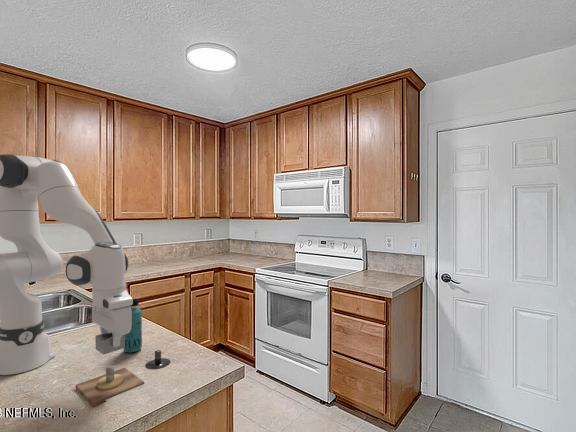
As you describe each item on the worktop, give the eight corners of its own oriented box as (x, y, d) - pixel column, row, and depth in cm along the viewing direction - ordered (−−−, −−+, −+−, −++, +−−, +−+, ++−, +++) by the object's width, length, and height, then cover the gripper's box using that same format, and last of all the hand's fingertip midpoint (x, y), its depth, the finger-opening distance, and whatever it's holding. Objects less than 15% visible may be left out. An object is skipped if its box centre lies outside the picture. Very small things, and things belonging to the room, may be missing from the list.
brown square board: (75, 388, 96) (75, 368, 96) (124, 371, 107) (124, 353, 107) (93, 407, 87) (92, 385, 87) (144, 385, 98) (144, 366, 98)
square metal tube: (95, 349, 96) (95, 335, 96) (116, 342, 101) (116, 329, 101) (103, 354, 92) (103, 340, 92) (125, 347, 97) (124, 334, 97)
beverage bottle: (121, 357, 117) (120, 302, 116) (125, 350, 123) (124, 297, 123) (140, 355, 118) (140, 301, 118) (143, 348, 125) (143, 296, 125)
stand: (140, 366, 110) (140, 351, 110) (163, 358, 116) (163, 344, 116) (152, 374, 105) (152, 358, 105) (175, 365, 111) (174, 350, 111)
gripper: (85, 293, 101) (86, 338, 101) (112, 305, 88) (113, 356, 88) (107, 290, 106) (108, 332, 106) (135, 300, 92) (136, 348, 93)
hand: (110, 343), depth 97 cm, fingers closed on square metal tube, 6 cm apart
